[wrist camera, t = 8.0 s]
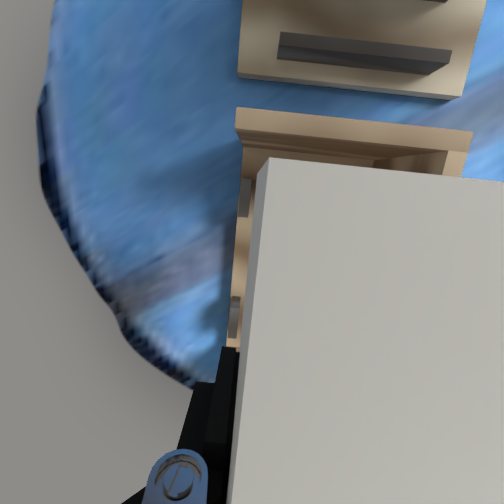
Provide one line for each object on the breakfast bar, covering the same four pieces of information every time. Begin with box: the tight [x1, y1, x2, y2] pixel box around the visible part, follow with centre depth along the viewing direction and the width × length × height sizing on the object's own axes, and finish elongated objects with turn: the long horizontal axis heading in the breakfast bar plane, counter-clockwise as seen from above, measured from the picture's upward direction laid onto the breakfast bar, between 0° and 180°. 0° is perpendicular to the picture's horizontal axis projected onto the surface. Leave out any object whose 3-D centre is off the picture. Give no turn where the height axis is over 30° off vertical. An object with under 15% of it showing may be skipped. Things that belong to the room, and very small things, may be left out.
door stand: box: [237, 0, 487, 100], centre depth 21 cm, size 8×18×4 cm, turn 84°
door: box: [226, 157, 504, 504], centre depth 9 cm, size 15×4×11 cm, turn 174°
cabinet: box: [226, 107, 474, 352], centre depth 22 cm, size 21×12×11 cm, turn 174°
